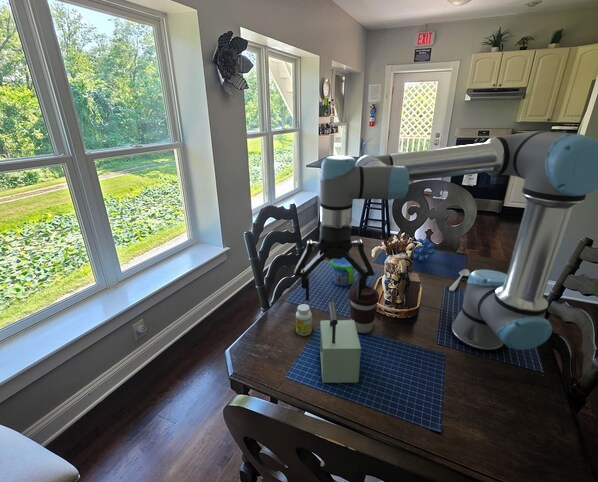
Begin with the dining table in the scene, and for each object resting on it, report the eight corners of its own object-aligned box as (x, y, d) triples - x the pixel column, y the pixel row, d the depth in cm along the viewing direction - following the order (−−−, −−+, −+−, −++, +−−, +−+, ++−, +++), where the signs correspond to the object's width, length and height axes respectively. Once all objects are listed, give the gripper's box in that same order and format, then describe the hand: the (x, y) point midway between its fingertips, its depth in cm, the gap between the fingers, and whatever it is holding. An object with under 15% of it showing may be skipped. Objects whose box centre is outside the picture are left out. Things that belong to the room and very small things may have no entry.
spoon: (471, 273, 144) (472, 270, 143) (456, 292, 130) (456, 289, 129) (461, 270, 146) (462, 267, 146) (445, 289, 132) (446, 285, 131)
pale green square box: (355, 297, 92) (320, 297, 92) (362, 324, 81) (323, 324, 81) (352, 351, 100) (320, 351, 100) (358, 382, 89) (322, 382, 89)
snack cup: (325, 275, 145) (326, 254, 141) (347, 272, 147) (348, 252, 143) (336, 293, 130) (337, 271, 127) (361, 290, 133) (362, 268, 129)
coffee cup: (376, 338, 105) (380, 299, 100) (346, 334, 107) (348, 296, 101) (376, 319, 114) (379, 283, 109) (348, 316, 116) (349, 280, 110)
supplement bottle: (314, 333, 108) (314, 309, 104) (300, 338, 106) (299, 314, 102) (307, 324, 113) (307, 301, 109) (293, 328, 110) (292, 305, 107)
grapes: (436, 261, 155) (440, 238, 150) (430, 266, 150) (434, 243, 146) (413, 254, 162) (416, 232, 158) (407, 259, 158) (410, 236, 153)
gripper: (384, 217, 80) (376, 289, 88) (284, 217, 80) (286, 290, 89) (391, 228, 73) (383, 305, 82) (282, 228, 74) (285, 306, 82)
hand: (332, 297), depth 85 cm, fingers open, 13 cm apart
